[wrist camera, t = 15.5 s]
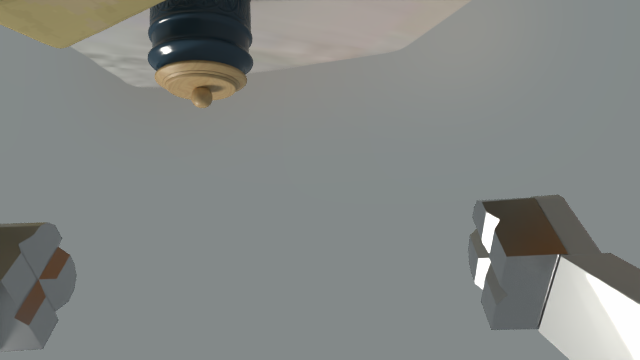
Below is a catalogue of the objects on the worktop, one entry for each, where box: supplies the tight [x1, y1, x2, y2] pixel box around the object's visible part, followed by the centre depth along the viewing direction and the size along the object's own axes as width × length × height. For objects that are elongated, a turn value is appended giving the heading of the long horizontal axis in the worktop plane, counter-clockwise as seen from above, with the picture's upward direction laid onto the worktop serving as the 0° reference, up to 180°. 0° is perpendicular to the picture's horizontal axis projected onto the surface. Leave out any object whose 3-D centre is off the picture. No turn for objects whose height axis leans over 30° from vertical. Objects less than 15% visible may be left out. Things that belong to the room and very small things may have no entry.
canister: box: [148, 0, 253, 108], centre depth 63 cm, size 13×13×18 cm
